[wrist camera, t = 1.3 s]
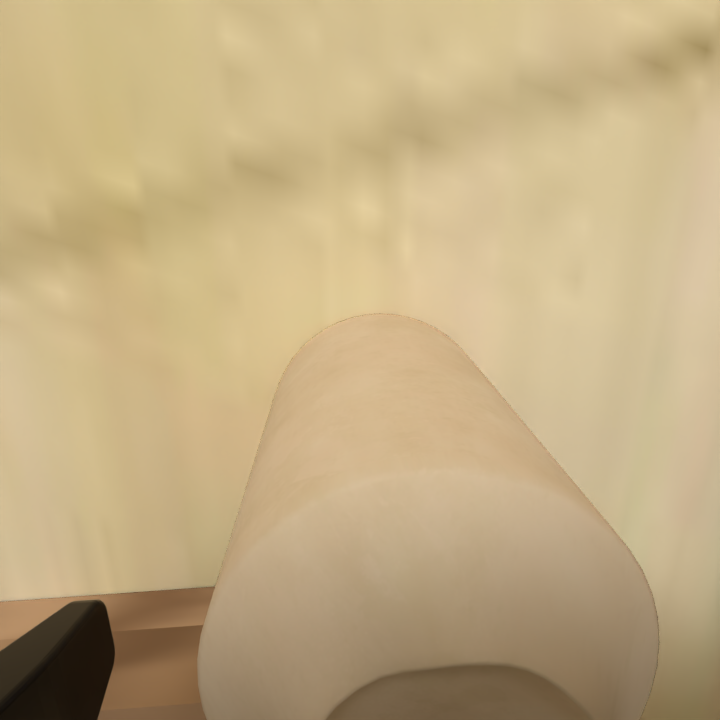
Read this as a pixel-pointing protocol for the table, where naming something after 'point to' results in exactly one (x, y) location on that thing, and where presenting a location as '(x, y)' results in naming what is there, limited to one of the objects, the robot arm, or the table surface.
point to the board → (137, 649)
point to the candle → (417, 554)
